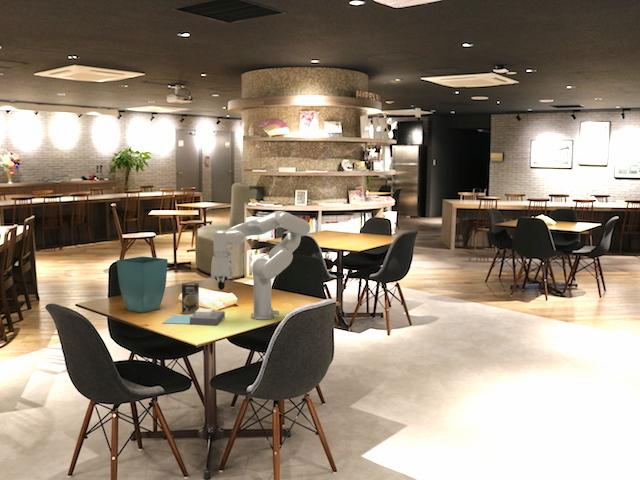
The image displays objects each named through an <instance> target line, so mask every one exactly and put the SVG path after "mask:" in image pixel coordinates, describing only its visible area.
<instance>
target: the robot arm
mask: <svg viewBox="0 0 640 480" xmlns="http://www.w3.org/2000/svg"><path fill="white" fill-rule="evenodd" d="M278 228H282V229H285V230H286V231H287V233H286V236H284V238H283V239H282V240H281V241H280V242H279V243H278V244H276V245H274V246H273V248H271V250H270V251H269V253H268V259H266V258H258V259H256V260H255V261H254V262H253V263H252V265H251V272H252V279H253V280H252V281H253V313H251V314H250V318H251V319H253V320H261V321H262V320H265V321H266V320H271V319H273V318H275V315H277V316H279V315H280V311H279V310H274V309H273V307H272V279H274V278H276V277H277V276H278V275H279V274H281V273H282V272H283V271H284V270H286V269H287V268H288V267H289V266H290V264H291V263H292V261H293V258H294V256H293V253H294V251H296V249H298V247H299V246H300V243H301V241H302V240H301V239H302V237H304V236H307V235H308V234H309V233H310V232H311V225H310V223H309V221H307V220H306V219H303V218H302V217H298V216H296V215H293V214H292V213H290V212H286V211H283V210H277V211H273V212H271V213H269V214H267V215H264V216H261V217H258V218H256V219H253V220H250V221H246V222H243V223H239V224H236V225H235V226H232V227H230V228H228V229H226V230H223V229H222V230H221V229H217V230H215V231H214V232H213V256H212V259H211V266H210V267H211V268H210V278H211V279H212V280H213V279H215V281H216V282H217V288H218V290H219V291H223V290H224V289H225V287H226V286H225V282H226V281H227V280H231V279H232V278H233V277H232V274H233V268H232V259H231V256H232V252H230V251H229V248H230V247H229V245H237V246H238V245H242V244H243V243H244V242H245V238H246V237H249V236H260V235H264V234H267V233H268V232H271V231H273V230H276V229H278Z"/></svg>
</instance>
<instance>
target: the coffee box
mask: <svg viewBox="0 0 640 480" xmlns="http://www.w3.org/2000/svg"><path fill="white" fill-rule="evenodd" d="M199 287H200V286H199V283H198V282H182V283H181V314H182V315H191V314H192V315H194V314H195V311H197V310H198V309H199V307H200V306H199V302H200V301H199V298H200V296H199V294H200V289H199Z"/></svg>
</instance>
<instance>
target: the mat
mask: <svg viewBox="0 0 640 480" xmlns="http://www.w3.org/2000/svg"><path fill="white" fill-rule="evenodd" d="M191 316H192V315H185V314H182V315H181V314H173V315H171V316H169V317H168V318H166V319H165V320H164V321H162V324H170V325H171V324H172V325H191V324H190V317H191Z"/></svg>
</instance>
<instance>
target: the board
mask: <svg viewBox="0 0 640 480" xmlns="http://www.w3.org/2000/svg"><path fill="white" fill-rule="evenodd" d="M190 316H191V317H190V324H189V325H195V326H196V325H197V326H218V325H219V324H220V323H221V322H222V321H224V319H225V318H226V311H224V310H214V314H213V315H211V316H195V314H192V315H190Z"/></svg>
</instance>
